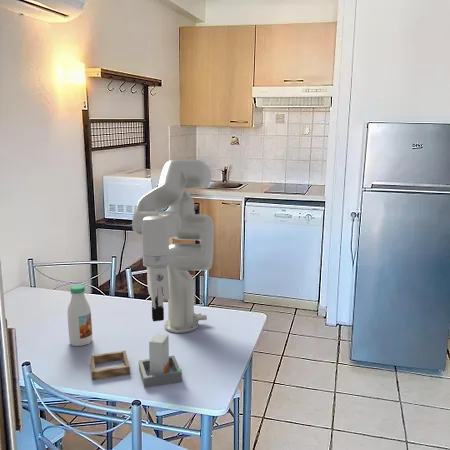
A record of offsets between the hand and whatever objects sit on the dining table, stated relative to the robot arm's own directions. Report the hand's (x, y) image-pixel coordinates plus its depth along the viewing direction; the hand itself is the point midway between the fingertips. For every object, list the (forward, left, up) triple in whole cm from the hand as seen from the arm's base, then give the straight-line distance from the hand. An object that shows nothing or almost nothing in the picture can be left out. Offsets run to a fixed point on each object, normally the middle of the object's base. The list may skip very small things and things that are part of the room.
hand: (158, 319), depth 141 cm
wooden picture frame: (+14, -9, -18) cm, 24 cm away
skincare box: (0, 0, -18) cm, 18 cm away
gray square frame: (0, 0, -18) cm, 18 cm away
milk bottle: (+22, -31, -18) cm, 42 cm away
